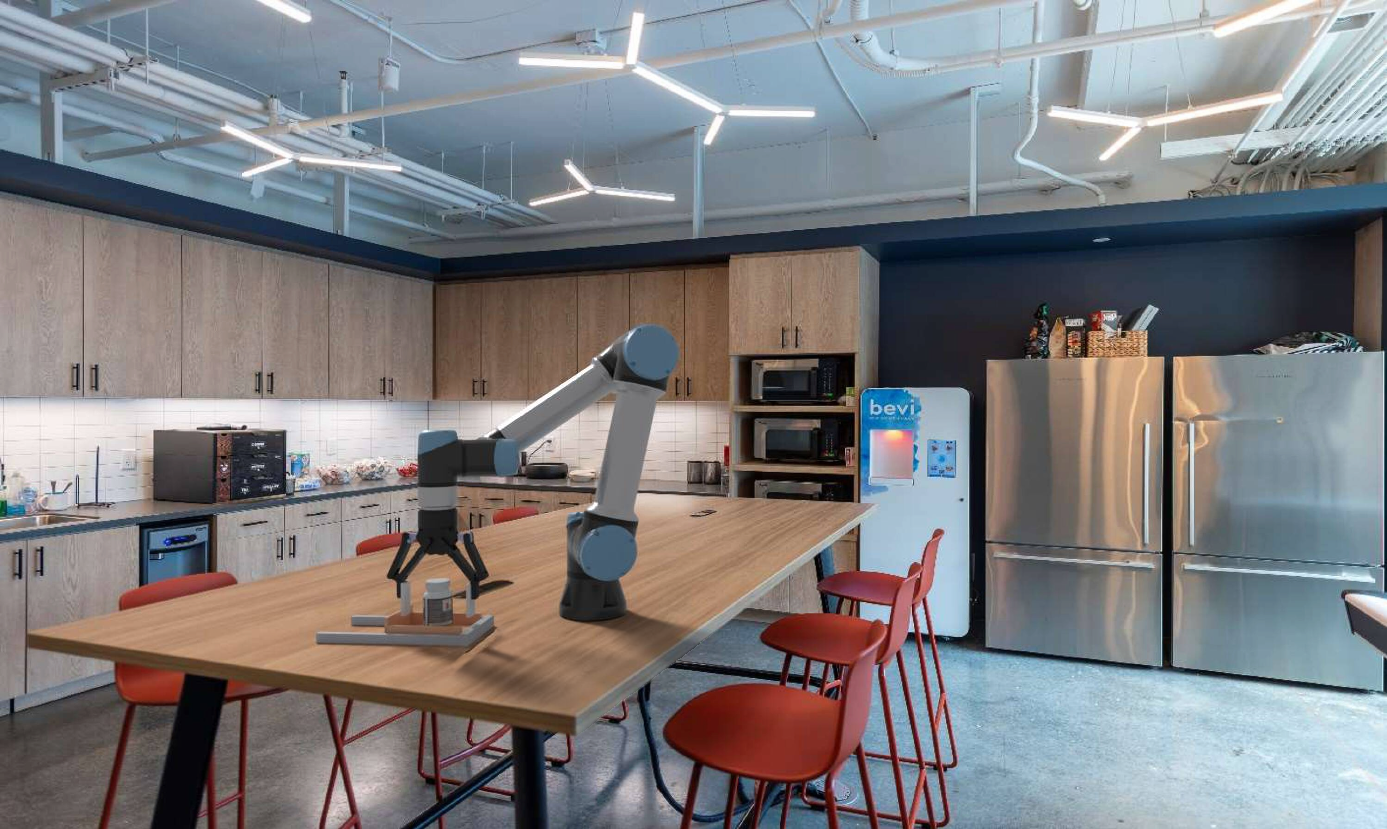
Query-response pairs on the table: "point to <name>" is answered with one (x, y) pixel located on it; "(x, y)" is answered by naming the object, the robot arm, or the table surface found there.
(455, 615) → the crate
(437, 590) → the pill bottle
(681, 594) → the table surface
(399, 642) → the bay
